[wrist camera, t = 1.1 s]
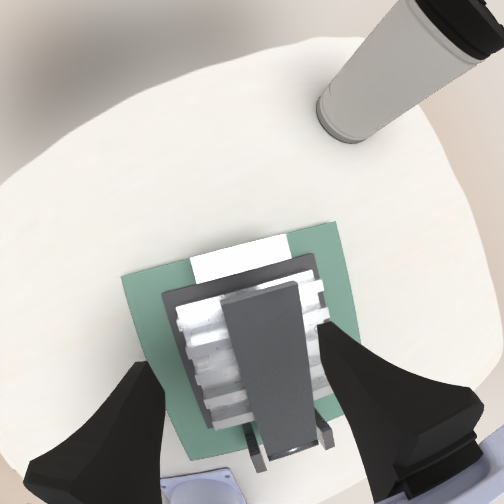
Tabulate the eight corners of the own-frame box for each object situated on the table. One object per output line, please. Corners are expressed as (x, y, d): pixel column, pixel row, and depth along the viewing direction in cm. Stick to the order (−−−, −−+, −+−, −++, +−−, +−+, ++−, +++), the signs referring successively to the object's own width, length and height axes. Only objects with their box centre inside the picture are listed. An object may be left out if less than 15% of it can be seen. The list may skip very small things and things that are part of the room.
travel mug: (303, 92, 26) (412, -60, 6) (358, 89, 27) (477, -25, 7) (324, 148, 26) (484, 20, 6) (379, 140, 27) (531, 50, 7)
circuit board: (362, 397, 26) (374, 407, 24) (190, 452, 23) (190, 467, 21) (328, 222, 26) (340, 219, 23) (125, 275, 23) (117, 277, 21)
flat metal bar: (314, 438, 20) (318, 446, 19) (266, 454, 19) (270, 463, 18) (292, 278, 16) (299, 284, 15) (218, 298, 15) (221, 307, 14)
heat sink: (331, 411, 24) (355, 437, 19) (228, 444, 23) (234, 478, 18) (292, 232, 24) (314, 225, 19) (168, 264, 22) (158, 266, 17)
